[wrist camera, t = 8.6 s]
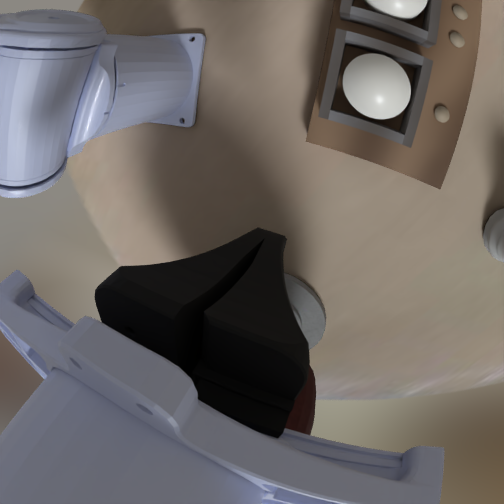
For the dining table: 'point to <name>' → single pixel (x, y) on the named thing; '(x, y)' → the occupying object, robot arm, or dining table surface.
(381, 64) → the button
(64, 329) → the robot arm
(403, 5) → the button
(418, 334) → the dining table surface
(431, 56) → the button panel
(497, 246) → the rook chess piece
